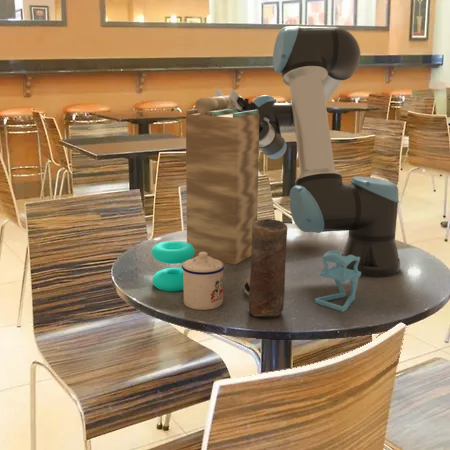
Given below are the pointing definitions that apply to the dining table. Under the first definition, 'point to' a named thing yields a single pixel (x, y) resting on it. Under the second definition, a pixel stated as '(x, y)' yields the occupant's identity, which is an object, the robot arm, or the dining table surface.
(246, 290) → the pastry
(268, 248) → the brown upright cylinder
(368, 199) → the robot arm
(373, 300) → the dining table surface
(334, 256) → the chair
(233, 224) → the tall wooden crate
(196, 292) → the teacup with lid
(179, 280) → the donuts
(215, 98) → the cream rounded cylinder
